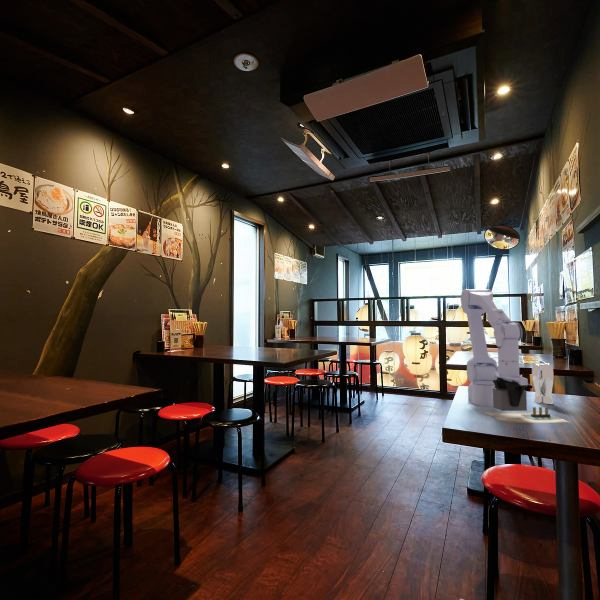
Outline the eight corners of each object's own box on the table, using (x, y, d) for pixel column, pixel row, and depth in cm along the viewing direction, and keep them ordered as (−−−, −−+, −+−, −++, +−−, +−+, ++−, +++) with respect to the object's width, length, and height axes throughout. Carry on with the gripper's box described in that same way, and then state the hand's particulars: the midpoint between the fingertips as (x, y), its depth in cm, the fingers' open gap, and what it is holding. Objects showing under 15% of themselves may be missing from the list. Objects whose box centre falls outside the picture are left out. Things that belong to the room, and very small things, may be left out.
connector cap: (493, 407, 114) (492, 388, 114) (517, 407, 115) (516, 388, 115) (501, 410, 110) (501, 391, 110) (526, 410, 110) (526, 391, 110)
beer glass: (556, 402, 138) (554, 363, 139) (552, 405, 133) (551, 365, 134) (534, 399, 143) (533, 362, 144) (531, 402, 138) (529, 363, 139)
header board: (484, 417, 118) (483, 403, 118) (542, 416, 119) (541, 402, 119) (507, 428, 106) (506, 412, 106) (571, 427, 107) (570, 412, 107)
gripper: (483, 358, 120) (484, 399, 119) (510, 363, 106) (512, 410, 105) (503, 358, 120) (504, 399, 120) (533, 363, 106) (535, 410, 105)
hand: (509, 404), depth 112 cm, fingers closed on connector cap, 4 cm apart
